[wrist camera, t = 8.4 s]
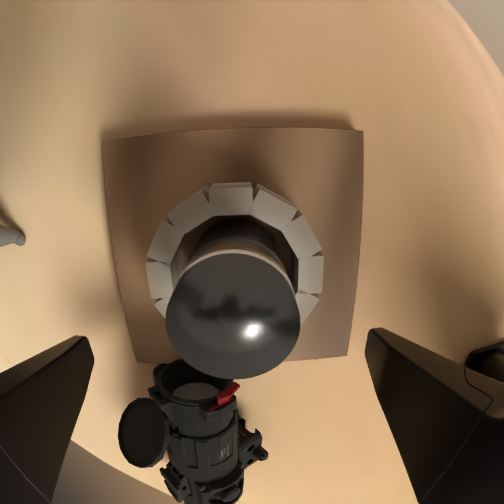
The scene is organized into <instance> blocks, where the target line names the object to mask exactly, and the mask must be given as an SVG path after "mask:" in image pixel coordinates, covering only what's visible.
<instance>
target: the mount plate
mask: <svg viewBox="0 0 504 504" xmlns="http://www.w3.org/2000/svg"><path fill="white" fill-rule="evenodd" d="M102 150H103V167H104V180H105V191H106V201H107V210H108V219H109V227H110V234H111V241H112V248H113V254H114V260H115V266H116V272H117V277H118V283H119V288H120V293H121V298H122V303H123V307H124V312H125V316H126V321H127V325H128V329H129V333H130V337H131V341H132V345H133V349H134V353H135V357H136V360H137V362H142V363H166V364H169V363H171V362H173V361H174V360H177V359H181V357H180V356H179V355H178V353H177V352H176V351H175V349H174V348H173V346H172V344H171V342H170V340H169V337H168V334H167V331H166V324H165V317H166V310H167V306H168V303H169V300H170V298H171V296H172V292H173V289H174V287H175V284H176V282H177V280H178V278H179V276H180V275H181V273H182V271H183V270H184V269H185V267H186V265H187V262H188V260H189V258H190V256H191V254H192V252H193V250H194V248H195V246H196V244H197V242H198V240H199V239H200V237H201V235H202V234H203V233H204V232H205V231H206V230H207V229H208V228H209V227H210V226H212V225H213V224H215V223H217V222H219V221H221V220H225V219H229V218H244V219H248V220H252V221H254V222H256V223H258V224H260V225H261V226H263V227H264V228H265V229H266V230H267V231H268V232H269V233H270V234H271V235H272V237H273V238H274V240H275V242H276V245H277V247H278V250H279V253H280V256H281V259H282V262H283V265H284V268H285V270H286V273H287V276H288V278H289V279H290V281H291V284H292V287H293V290H294V293H295V296H296V301H297V306H298V309H299V313H300V323H301V326H300V333H299V337H298V340H297V342H296V344H295V347H294V348H293V350H292V351H291V353H290V354H289V355H288V357H287V358H286V359H285V360H284V361H297V360H309V359H320V358H330V357H339V356H347V352H348V346H349V339H350V333H351V326H352V318H353V311H354V303H355V294H356V285H357V275H358V264H359V253H360V239H361V223H362V203H363V131H359V130H345V129H326V128H287V127H269V128H231V129H211V130H197V131H184V132H173V133H164V134H154V135H146V136H138V137H131V138H124V139H117V140H111V141H104V142H102Z"/></svg>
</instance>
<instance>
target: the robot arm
mask: <svg viewBox="0 0 504 504" xmlns="http://www.w3.org/2000/svg"><path fill="white" fill-rule="evenodd" d="M365 358H366V361H367V364H368V368H369V371H370V375H371V378H372V382H373V385H374V389H375V392H376V395H377V398H378V400H379V403H380V405H381V407H382V410H383V412H384V415H385V417H386V419H387V422H388V424H389V427H390V429H391V432H392V434H393V437H394V439H395V442H396V444H397V447H398V450H399V452H400V455H401V457H402V460H403V463H404V465H405V468H406V471H407V473H408V476H409V479H410V481H411V484H412V487H413V490H414V493H415V495H416V498H417V501H418V503H419V504H504V342H502V343H499V344H496V345H493V346H490V347H487V348H483V349H480V350H476V351H473V352H472V353H471V354H470V355H469V357H468V359H467V362H466V364H465V367H464V368H463V366H462V365H460V364H458V363H456V362H454V361H451V360H449V359H447V358H445V357H443V356H441V355H439V354H437V353H434V352H432V351H430V350H428V349H426V348H424V347H422V346H420V345H418V344H415V343H413V342H411V341H409V340H407V339H405V338H403V337H401V336H399V335H397V334H394V333H392V332H390V331H388V330H386V329H384V328H373V329H370V330H369V332H368V337H367V342H366V348H365ZM93 365H94V356H93V353H92V350H91V347H90V343H89V340H88V338H87V337H85V336H77V335H76V336H73V337H71V338H69V339H67V340H65V341H63V342H61V343H59V344H57V345H55V346H53V347H51V348H49V349H47V350H45V351H43V352H41V353H39V354H37V355H35V356H33V357H31V358H29V359H27V360H25V361H23V362H21V363H19V364H17V365H15V366H13V367H11V368H9V369H7V370H6V371H4V372H2V373H0V504H51V503H52V499H53V496H54V492H55V488H56V485H57V481H58V477H59V474H60V471H61V467H62V464H63V461H64V457H65V454H66V451H67V448H68V445H69V442H70V439H71V436H72V433H73V430H74V427H75V424H76V421H77V419H78V416H79V413H80V410H81V408H82V405H83V402H84V399H85V395H86V392H87V388H88V384H89V380H90V376H91V373H92V369H93Z"/></svg>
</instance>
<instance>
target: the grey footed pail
mask: <svg viewBox="0 0 504 504" xmlns="http://www.w3.org/2000/svg"><path fill="white" fill-rule="evenodd" d="M25 240H26V239H25V236H24V235H23V234H22V233H20V232H19V231H17V230H15V229H11V228H8V227H5V226H3V225H1V224H0V247H1V246H5V245H8V244H11V243H15V244H17V245H19V246H22V245H24V243H25Z"/></svg>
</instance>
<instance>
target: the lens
mask: <svg viewBox="0 0 504 504" xmlns="http://www.w3.org/2000/svg"><path fill="white" fill-rule="evenodd" d="M165 324H166V331H167V334H168V337H169V340H170V342H171V344H172V346H173V348H174V349H175V351H176V352H177V353H178V355H179V356H180V357H181V358H182V359H183V360H184V361H185V362H187V363H188V364H189V365H190V366H192V367H194V368H195V369H197V370H199V371H201V372H203V373H205V374H208V375H211V376H214V377H218V378H224V379H245V378H251V377H255V376H258V375H261V374H264V373H266V372H268V371H270V370H272V369H273V368H275V367H276V366H278V365H279V364H280V363H282V362H283V361H284V360H285V359H286V358H287V357H288V355H289V354H290V353H291V351H292V350H293V348H294V347H295V344H296V342H297V340H298V337H299V333H300V326H301V323H300V313H299V309H298V306H297V301H296V296H295V293H294V290H293V287H292V284H291V281H290V279H289V278H288V276H287V273H286V270H285V268H284V265H283V262H282V259H281V256H280V253H279V250H278V247H277V245H276V242H275V240H274V238H273V237H272V235H271V234H270V233H269V232H268V231H267V230H266V229H265V228H264V227H263V226H261V225H260V224H258V223H256V222H254V221H252V220H248V219H244V218H229V219H225V220H221V221H219V222H217V223H215V224H213V225H212V226H210V227H209V228H208V229H207V230H206V231H205V232H204V233H203V234H202V235H201V237H200V239H199V240H198V242H197V244H196V246H195V248H194V250H193V252H192V254H191V256H190V258H189V260H188V262H187V265H186V267H185V269H184V270H183V271H182V273H181V275H180V276H179V278H178V280H177V282H176V284H175V287H174V289H173V292H172V296H171V298H170V300H169V303H168V306H167V310H166V317H165Z"/></svg>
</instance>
